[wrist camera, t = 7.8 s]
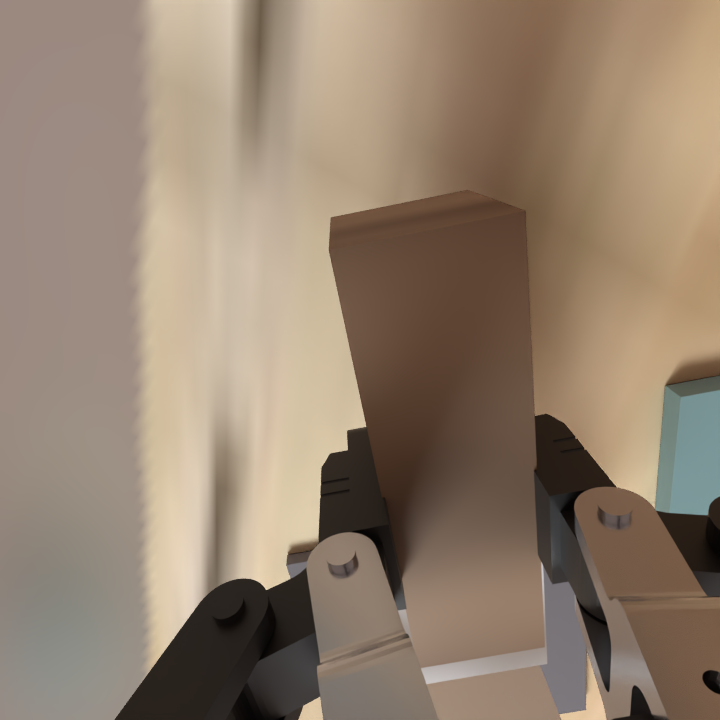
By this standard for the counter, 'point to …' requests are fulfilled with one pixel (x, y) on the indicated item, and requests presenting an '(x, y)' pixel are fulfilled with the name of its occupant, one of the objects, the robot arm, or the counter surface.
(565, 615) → the mat
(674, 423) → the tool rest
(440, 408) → the brown long block
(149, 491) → the counter surface
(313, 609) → the robot arm
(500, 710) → the tile
